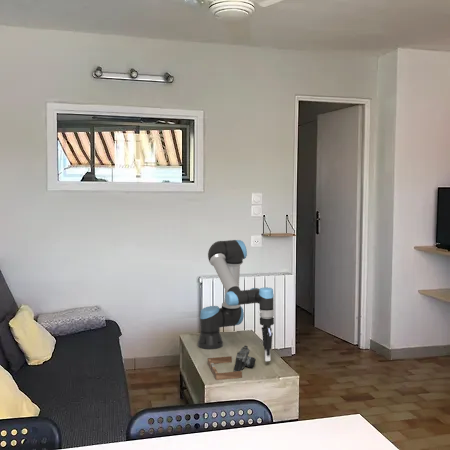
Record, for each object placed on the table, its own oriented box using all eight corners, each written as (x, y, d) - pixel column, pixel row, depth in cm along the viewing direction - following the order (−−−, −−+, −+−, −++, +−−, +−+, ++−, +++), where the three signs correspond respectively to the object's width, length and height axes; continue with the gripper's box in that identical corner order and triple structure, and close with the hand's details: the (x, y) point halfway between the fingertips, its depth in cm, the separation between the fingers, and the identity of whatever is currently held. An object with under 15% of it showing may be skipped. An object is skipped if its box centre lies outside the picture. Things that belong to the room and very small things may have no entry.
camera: (249, 376, 267) (253, 358, 266) (232, 372, 269) (236, 353, 268) (255, 365, 284) (259, 348, 283) (239, 360, 286) (243, 343, 285)
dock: (207, 363, 284) (207, 356, 284) (231, 361, 287) (231, 354, 287) (216, 380, 259) (216, 372, 259) (242, 377, 262) (241, 370, 262)
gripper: (256, 314, 282) (257, 357, 283) (263, 320, 269) (264, 365, 270) (270, 313, 283) (270, 356, 284) (277, 319, 270) (278, 363, 272)
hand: (267, 360), depth 277 cm, fingers closed
